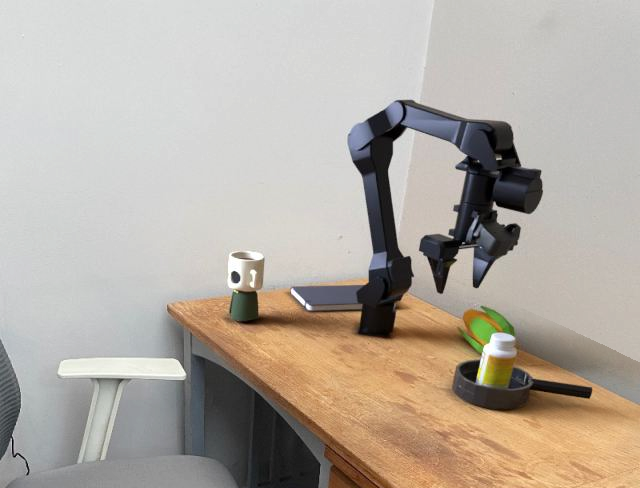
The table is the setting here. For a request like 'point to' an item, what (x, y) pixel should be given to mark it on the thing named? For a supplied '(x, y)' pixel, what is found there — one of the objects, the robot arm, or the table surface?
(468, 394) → the skillet
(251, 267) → the character mug
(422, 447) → the table surface
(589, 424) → the table surface
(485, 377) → the supplement bottle
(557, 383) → the skillet handle
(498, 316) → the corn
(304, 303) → the notebook
